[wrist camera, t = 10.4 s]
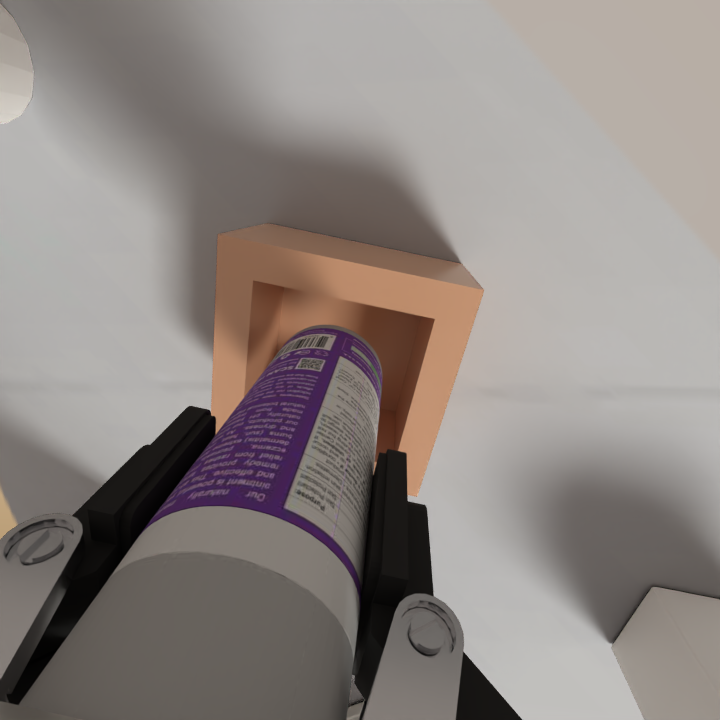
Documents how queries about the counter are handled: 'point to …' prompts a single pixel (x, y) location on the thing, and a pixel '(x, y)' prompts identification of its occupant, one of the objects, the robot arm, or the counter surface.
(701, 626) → the milk carton
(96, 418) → the counter surface
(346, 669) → the container
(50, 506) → the counter surface
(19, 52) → the white cup
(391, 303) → the tan open box
